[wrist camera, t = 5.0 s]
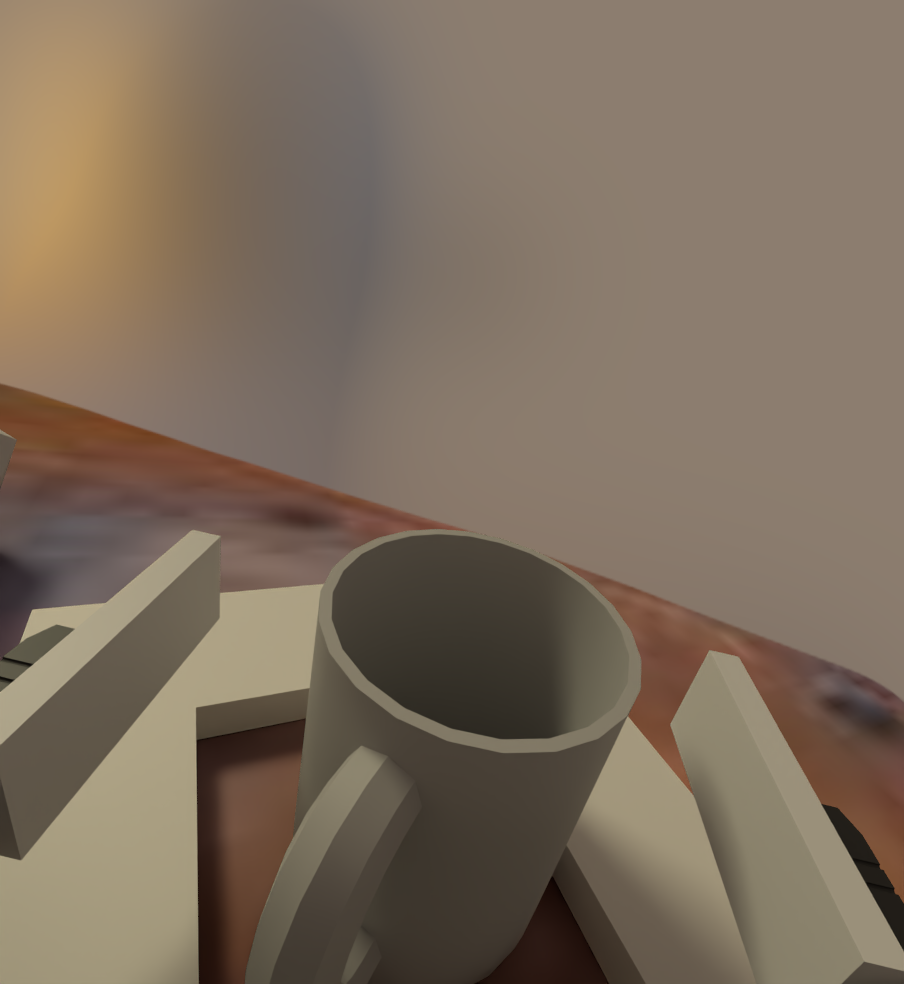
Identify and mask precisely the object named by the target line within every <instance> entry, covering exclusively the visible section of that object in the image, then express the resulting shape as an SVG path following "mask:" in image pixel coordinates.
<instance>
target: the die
mask: <svg viewBox="0 0 904 984" xmlns="http://www.w3.org/2000/svg"><path fill="white" fill-rule="evenodd" d="M16 441H17V440H16V439H15V438H13V437H11V436H10V435H8V434H6V433H5V432H3V431H1V430H0V488H1V485H2V482H3V479H4V476H5V473H6V470H7V467H8V464H9V461H10V458H11V455H12V452H13V450H14V447H15V444H16Z"/></svg>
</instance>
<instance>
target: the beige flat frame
mask: <svg viewBox="0 0 904 984" xmlns="http://www.w3.org/2000/svg"><path fill="white" fill-rule="evenodd" d="M323 585H324V584H319V585H308V586H297V587H285V588H274V589H262V590H251V591H239V592H228V593H220V618H219V620H218V621H217V622H216V623H215V625H214V626H213V627H212V628H211V629H210V631H209V632H208V633H207V634H206V636H205V637H204V638H203V639H202V640H201V642H200V643H199V644H198V645H197V647H196V648H195V649H194V650H193V651H192V653H191V654H190V655H189V656H188V658H187V659H186V660H185V661H184V662H183V664H182V665H181V666H180V667H179V669H178V670H177V671H176V672H175V673H174V675H173V676H172V677H171V678H170V680H169V681H168V682H167V683H166V684H165V686H164V687H163V688H162V689H161V691H160V692H159V693H158V694H157V695H156V697H155V698H154V699H153V700H152V702H151V703H150V704H149V705H148V706H147V708H146V709H145V710H144V711H143V713H142V714H141V715H140V716H139V717H138V719H137V720H136V721H135V722H134V724H133V725H132V726H131V727H130V728H129V730H128V731H127V732H126V733H125V735H124V736H123V737H122V738H121V739H120V741H119V742H118V743H117V744H116V746H115V747H114V748H113V749H112V750H111V752H110V753H109V754H108V755H107V757H106V758H105V759H104V760H103V761H102V763H101V764H100V765H99V766H98V767H97V769H96V770H95V771H94V772H93V774H92V775H91V776H90V777H89V778H88V780H87V781H86V782H85V783H84V785H83V786H82V787H81V788H80V789H79V791H78V792H77V793H76V794H75V796H74V797H73V798H72V799H71V800H70V802H69V803H68V804H67V805H66V807H65V808H64V809H63V810H62V811H61V813H60V814H59V815H58V816H57V818H56V819H55V820H54V821H53V822H52V824H51V825H50V826H49V827H48V829H47V830H46V831H45V832H44V833H43V835H42V836H41V837H40V838H39V840H38V841H37V842H36V843H35V844H34V846H33V847H32V848H31V849H30V851H29V852H28V853H27V854H26V855H25V857H24V858H23V859H22V860H21V861H20V860H16V859H12V858H8V857H4V856H0V984H199V959H198V861H197V764H196V740H199V739H204V738H209V737H214V736H219V735H224V734H229V733H234V732H240V731H245V730H250V729H255V728H260V727H265V726H270V725H275V724H280V723H285V722H290V721H295V720H301V719H306V715H307V706H308V697H309V688H310V679H311V670H312V661H313V653H314V644H315V635H316V626H317V617H318V608H319V599H320V591H321V589H322V587H323ZM104 604H105V603H102V604H90V605H79V606H68V607H56V608H45V609H33V610H32V612H31V615H30V617H29V620H28V623H27V625H26V628H25V631H24V633H23V636H22V639H21V641H20V643H21V642H23V641H24V640H25V639H26V638H28V637H30V636H33V635H35V634H37V633H39V632H41V631H43V630H46V629H48V628H50V627H52V626H54V625H56V624H57V625H61V626H66V627H70V628H74V629H76V628H77V627H78V626H79V625H80V624H82V623H83V622H84V621H85V620H86V619H88V618H89V617H90V616H91V615H92V614H93V613H95V612H96V611H97V610H98V609H99V608H101V607H102V606H103V605H104ZM552 876H553V878H554V880H555V882H556V884H557V885H558V887H559V889H560V891H561V893H562V895H563V897H564V899H565V901H566V903H567V904H568V906H569V908H570V910H571V912H572V914H573V916H574V918H575V920H576V922H577V924H578V925H579V927H580V929H581V931H582V933H583V935H584V937H585V939H586V941H587V943H588V944H589V946H590V948H591V950H592V952H593V954H594V956H595V958H596V960H597V962H598V964H599V965H600V967H601V969H602V971H603V973H604V975H605V977H606V979H607V981H608V983H609V984H756V981H755V978H754V975H753V972H752V969H751V966H750V963H749V960H748V957H747V954H746V951H745V948H744V945H743V942H742V939H741V936H740V933H739V930H738V927H737V924H736V921H735V918H734V915H733V912H732V909H731V906H730V902H729V899H728V896H727V893H726V890H725V887H724V884H723V881H722V878H721V875H720V872H719V869H718V866H717V863H716V860H715V857H714V854H713V851H712V848H711V845H710V842H709V839H708V836H707V833H706V830H705V827H704V824H703V821H702V818H701V815H700V812H699V809H698V806H697V803H696V800H695V797H694V796H693V795H692V794H691V792H690V791H689V790H688V789H687V787H686V786H685V785H684V784H683V783H682V781H681V780H680V779H679V778H678V777H677V775H676V774H675V773H674V772H673V770H672V769H671V768H670V767H669V766H668V764H667V763H666V762H665V761H664V760H663V758H662V757H661V756H660V755H659V754H658V752H657V751H656V750H655V749H654V747H653V746H652V745H651V744H650V743H649V741H648V740H647V739H646V738H645V737H644V735H643V734H642V733H641V732H640V730H639V729H638V728H637V727H636V726H635V724H634V723H633V722H632V721H631V720H630V718H629V717H627V719H626V721H625V723H624V725H623V727H622V729H621V731H620V733H619V735H618V738H617V740H616V742H615V744H614V746H613V748H612V750H611V752H610V754H609V757H608V759H607V761H606V763H605V765H604V767H603V769H602V771H601V773H600V775H599V778H598V780H597V782H596V784H595V786H594V788H593V790H592V792H591V794H590V796H589V799H588V801H587V803H586V805H585V807H584V809H583V811H582V813H581V815H580V817H579V820H578V822H577V824H576V826H575V828H574V830H573V832H572V834H571V836H570V839H569V841H568V843H567V845H566V847H565V849H564V851H563V853H562V855H561V857H560V860H559V862H558V864H557V866H556V868H555V870H554V872H553V874H552Z"/></svg>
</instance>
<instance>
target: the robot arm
mask: <svg viewBox="0 0 904 984" xmlns="http://www.w3.org/2000/svg"><path fill="white" fill-rule="evenodd" d="M220 546H221V536H217V535H213V534H208V533H204V532H200V531H195V530H192V531H191V532H189V533H188V534H187V535H186V536H185V537H183V538H182V539H181V540H180V541H179V542H178V543H176V544H175V545H174V546H173V547H172V548H170V549H169V550H168V551H167V552H166V553H165V554H163V555H162V556H161V557H160V558H159V559H157V560H156V561H155V562H154V563H153V564H151V565H150V566H149V567H148V568H147V569H146V570H144V571H143V572H142V573H141V574H140V575H138V576H137V577H136V578H135V579H134V580H133V581H131V582H130V583H129V584H128V585H127V586H125V587H124V588H123V589H122V590H121V591H120V592H118V593H117V594H116V595H115V596H114V597H112V598H111V599H110V600H109V601H108V602H106V603H105V604H104V605H103V606H102V607H101V608H99V609H98V610H97V611H96V612H95V613H93V614H92V615H91V616H90V617H89V618H88V619H86V620H85V621H84V622H83V623H82V624H80V625H79V626H78V627H77V628H76V629H74V628H70V627H66V626H61V625H57V624H56V625H54V626H52V627H50V628H48V629H46V630H43V631H41V632H39V633H37V634H35V635H33V636H30V637H28V638H26V639H25V640H24V641H23V642H21V643H20V644H19V645H17V646H16V647H15V648H14V649H12V650H11V651H10V652H8V653H7V654H6V655H5V656H3V659H2V660H1V661H0V856H4V857H8V858H12V859H16V860H20V861H21V860H22V859H23V858H24V857H25V855H26V854H27V853H28V852H29V851H30V849H31V848H32V847H33V846H34V844H35V843H36V842H37V841H38V840H39V838H40V837H41V836H42V835H43V833H44V832H45V831H46V830H47V829H48V827H49V826H50V825H51V824H52V822H53V821H54V820H55V819H56V818H57V816H58V815H59V814H60V813H61V811H62V810H63V809H64V808H65V807H66V805H67V804H68V803H69V802H70V800H71V799H72V798H73V797H74V796H75V794H76V793H77V792H78V791H79V789H80V788H81V787H82V786H83V785H84V783H85V782H86V781H87V780H88V778H89V777H90V776H91V775H92V774H93V772H94V771H95V770H96V769H97V767H98V766H99V765H100V764H101V763H102V761H103V760H104V759H105V758H106V757H107V755H108V754H109V753H110V752H111V750H112V749H113V748H114V747H115V746H116V744H117V743H118V742H119V741H120V739H121V738H122V737H123V736H124V735H125V733H126V732H127V731H128V730H129V728H130V727H131V726H132V725H133V724H134V722H135V721H136V720H137V719H138V717H139V716H140V715H141V714H142V713H143V711H144V710H145V709H146V708H147V706H148V705H149V704H150V703H151V702H152V700H153V699H154V698H155V697H156V695H157V694H158V693H159V692H160V691H161V689H162V688H163V687H164V686H165V684H166V683H167V682H168V681H169V680H170V678H171V677H172V676H173V675H174V673H175V672H176V671H177V670H178V669H179V667H180V666H181V665H182V664H183V662H184V661H185V660H186V659H187V658H188V656H189V655H190V654H191V653H192V651H193V650H194V649H195V648H196V647H197V645H198V644H199V643H200V642H201V640H202V639H203V638H204V637H205V636H206V634H207V633H208V632H209V631H210V629H211V628H212V627H213V626H214V625H215V623H216V622H217V621H218V620H219V618H220ZM670 725H671V728H672V731H673V734H674V737H675V740H676V743H677V746H678V749H679V752H680V755H681V758H682V761H683V764H684V767H685V770H686V773H687V776H688V779H689V782H690V785H691V788H692V791H693V794H694V797H695V800H696V803H697V806H698V809H699V812H700V815H701V818H702V821H703V824H704V827H705V830H706V833H707V836H708V839H709V842H710V845H711V848H712V851H713V854H714V857H715V860H716V863H717V866H718V869H719V872H720V875H721V878H722V881H723V884H724V887H725V890H726V893H727V896H728V899H729V902H730V906H731V909H732V912H733V915H734V918H735V921H736V924H737V927H738V930H739V933H740V936H741V939H742V942H743V945H744V948H745V951H746V954H747V957H748V960H749V963H750V966H751V969H752V972H753V975H754V978H755V981H756V984H904V904H903V902H902V900H901V899H900V897H899V895H896V894H895V893H894V887H893V885H892V884H891V882H890V880H889V879H888V877H887V875H886V874H885V872H884V870H881V869H880V867H879V865H880V864H879V862H878V860H877V859H876V857H875V855H874V854H873V852H872V850H871V849H870V847H869V845H868V844H867V842H866V840H865V839H864V837H863V835H862V834H861V833H860V832H859V831H858V830H857V829H856V828H855V827H854V825H853V824H852V823H851V822H850V821H849V820H848V819H847V818H846V817H845V816H844V814H843V813H842V812H841V811H840V810H839V809H838V808H836V807H832V806H827V805H823V804H821V803H820V801H819V799H818V798H817V796H816V794H815V792H814V790H813V789H812V787H811V785H810V783H809V781H808V780H807V778H806V776H805V774H804V773H803V771H802V769H801V767H800V765H799V764H798V762H797V760H796V758H795V757H794V755H793V753H792V751H791V749H790V748H789V746H788V744H787V742H786V740H785V739H784V737H783V735H782V733H781V732H780V730H779V728H778V726H777V724H776V723H775V721H774V719H773V717H772V716H771V714H770V712H769V710H768V708H767V707H766V705H765V703H764V701H763V699H762V698H761V696H760V694H759V692H758V691H757V689H756V687H755V685H754V683H753V682H752V680H751V678H750V676H749V674H748V673H747V671H746V669H745V667H744V666H743V664H742V662H741V660H740V658H739V657H737V656H733V655H728V654H724V653H720V652H715V651H711V650H709V652H708V654H707V656H706V658H705V660H704V662H703V664H702V665H701V667H700V669H699V671H698V673H697V675H696V677H695V679H694V681H693V682H692V684H691V686H690V688H689V690H688V692H687V694H686V696H685V698H684V700H683V701H682V703H681V705H680V707H679V709H678V711H677V713H676V715H675V717H674V718H673V720H672V722H671V724H670Z"/></svg>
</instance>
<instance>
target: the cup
mask: <svg viewBox="0 0 904 984" xmlns="http://www.w3.org/2000/svg"><path fill="white" fill-rule="evenodd" d="M640 689H641V658H640V655H639V652H638V649H637V646H636V644H635V641H634V638H633V635H632V632H631V630H630V629H629V628H628V626H627V625H626V623H625V622H624V620H623V619H622V618H621V616H620V615H619V613H618V612H617V610H616V609H615V607H614V606H613V605H612V604H611V603H610V602H609V601H608V600H607V599H606V598H605V597H604V596H603V595H602V594H601V593H599V592H598V591H597V590H596V589H595V588H594V587H593V586H592V585H591V584H590V583H589V582H587V581H586V580H584V579H583V578H581V577H580V576H578V575H577V574H576V573H574V572H573V571H571V570H570V569H568V568H567V567H565V566H564V565H562V564H560V563H558V562H556V561H554V560H552V559H550V558H548V557H546V556H544V555H542V554H540V553H538V552H536V551H534V550H532V549H529V548H527V547H524V546H521V545H518V544H515V543H512V542H509V541H507V540H504V539H500V538H496V537H491V536H487V535H482V534H477V533H473V532H466V531H454V530H442V529H432V530H415V531H405V532H401V533H396V534H392V535H388V536H384V537H380V538H377V539H375V540H373V541H370V542H368V543H366V544H364V545H362V546H360V547H358V548H356V549H354V550H352V551H351V552H350V553H349V554H348V555H347V556H345V557H344V558H343V559H342V560H341V561H340V562H339V563H338V564H336V565H335V566H334V567H333V568H332V570H331V572H330V574H329V576H328V578H327V580H326V582H325V583H324V585H323V587H322V589H321V591H320V599H319V608H318V617H317V626H316V635H315V644H314V653H313V661H312V670H311V679H310V688H309V697H308V706H307V715H306V723H305V732H304V741H303V750H302V759H301V768H300V777H299V786H298V794H297V803H296V812H295V823H294V834H293V840H292V842H291V843H290V845H289V847H288V849H287V851H286V853H285V856H284V858H283V861H282V863H281V866H280V868H279V871H278V873H277V876H276V878H275V881H274V883H273V886H272V888H271V891H270V894H269V896H268V899H267V902H266V904H265V907H264V910H263V913H262V915H261V918H260V921H259V924H258V926H257V930H256V933H255V937H254V941H253V945H252V949H251V952H250V956H249V960H248V964H247V968H246V974H245V984H475V983H477V982H478V981H480V980H482V979H484V978H486V977H488V976H489V975H490V974H491V973H492V972H493V971H494V970H495V969H496V968H497V967H498V966H499V965H500V964H501V963H502V961H503V960H504V959H505V958H506V957H507V956H508V955H509V954H510V953H511V952H512V951H513V950H514V948H515V947H516V945H517V944H518V942H519V941H520V939H521V938H522V936H523V934H524V932H525V930H526V928H527V926H528V924H529V922H530V920H531V918H532V916H533V914H534V912H535V910H536V908H537V906H538V904H539V902H540V900H541V897H542V895H543V893H544V891H545V889H546V887H547V885H548V883H549V881H550V878H551V876H552V874H553V872H554V870H555V868H556V866H557V864H558V862H559V860H560V857H561V855H562V853H563V851H564V849H565V847H566V845H567V843H568V841H569V839H570V836H571V834H572V832H573V830H574V828H575V826H576V824H577V822H578V820H579V817H580V815H581V813H582V811H583V809H584V807H585V805H586V803H587V801H588V799H589V796H590V794H591V792H592V790H593V788H594V786H595V784H596V782H597V780H598V778H599V775H600V773H601V771H602V769H603V767H604V765H605V763H606V761H607V759H608V757H609V754H610V752H611V750H612V748H613V746H614V744H615V742H616V740H617V738H618V735H619V733H620V731H621V729H622V727H623V725H624V723H625V721H626V719H627V717H628V714H629V712H630V710H631V708H632V706H633V704H634V702H635V700H636V698H637V696H638V693H639V691H640Z"/></svg>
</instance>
